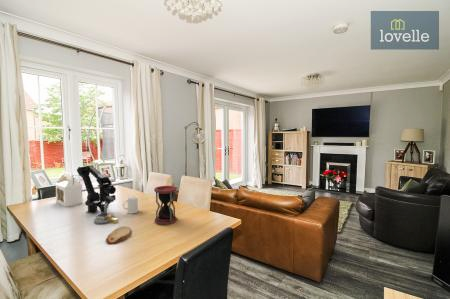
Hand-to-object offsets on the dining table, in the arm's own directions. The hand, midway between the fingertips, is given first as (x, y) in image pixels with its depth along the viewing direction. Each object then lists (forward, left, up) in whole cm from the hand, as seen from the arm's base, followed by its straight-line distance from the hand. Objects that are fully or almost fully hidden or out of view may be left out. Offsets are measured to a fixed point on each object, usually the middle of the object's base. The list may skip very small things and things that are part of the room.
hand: (104, 211), depth 173 cm
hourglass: (+53, +4, -2) cm, 53 cm away
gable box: (-53, +13, -2) cm, 55 cm away
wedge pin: (0, 0, -2) cm, 2 cm away
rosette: (+12, -10, -2) cm, 16 cm away
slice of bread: (+38, -26, -3) cm, 46 cm away
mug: (+16, +11, -2) cm, 20 cm away
